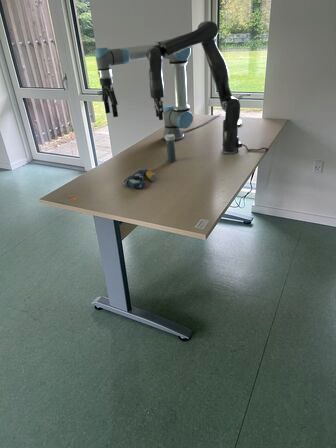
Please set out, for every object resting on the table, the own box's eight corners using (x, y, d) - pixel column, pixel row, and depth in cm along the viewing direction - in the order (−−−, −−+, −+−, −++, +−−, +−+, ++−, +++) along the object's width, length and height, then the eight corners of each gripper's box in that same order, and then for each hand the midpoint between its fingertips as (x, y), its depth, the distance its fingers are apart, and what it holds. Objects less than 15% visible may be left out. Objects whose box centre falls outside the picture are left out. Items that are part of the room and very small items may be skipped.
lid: (164, 140, 200) (164, 136, 199) (167, 137, 205) (166, 134, 204) (173, 140, 199) (173, 137, 198) (175, 137, 203) (175, 134, 202)
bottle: (166, 161, 208) (164, 137, 200) (169, 159, 212) (167, 134, 204) (174, 162, 206) (172, 137, 198) (176, 159, 210) (174, 135, 202)
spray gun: (162, 175, 189) (139, 172, 195) (161, 168, 187) (138, 166, 193) (144, 191, 174) (120, 188, 180) (143, 184, 171) (119, 181, 178)
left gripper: (93, 76, 203) (99, 112, 214) (107, 80, 184) (113, 119, 195) (104, 75, 206) (110, 110, 217) (119, 78, 187) (125, 117, 198)
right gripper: (166, 89, 178) (168, 120, 186) (161, 85, 190) (163, 114, 198) (152, 91, 177) (155, 122, 185) (148, 87, 189) (151, 116, 197)
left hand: (111, 114), depth 206 cm, fingers open, 13 cm apart
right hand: (159, 118), depth 192 cm, fingers open, 8 cm apart
